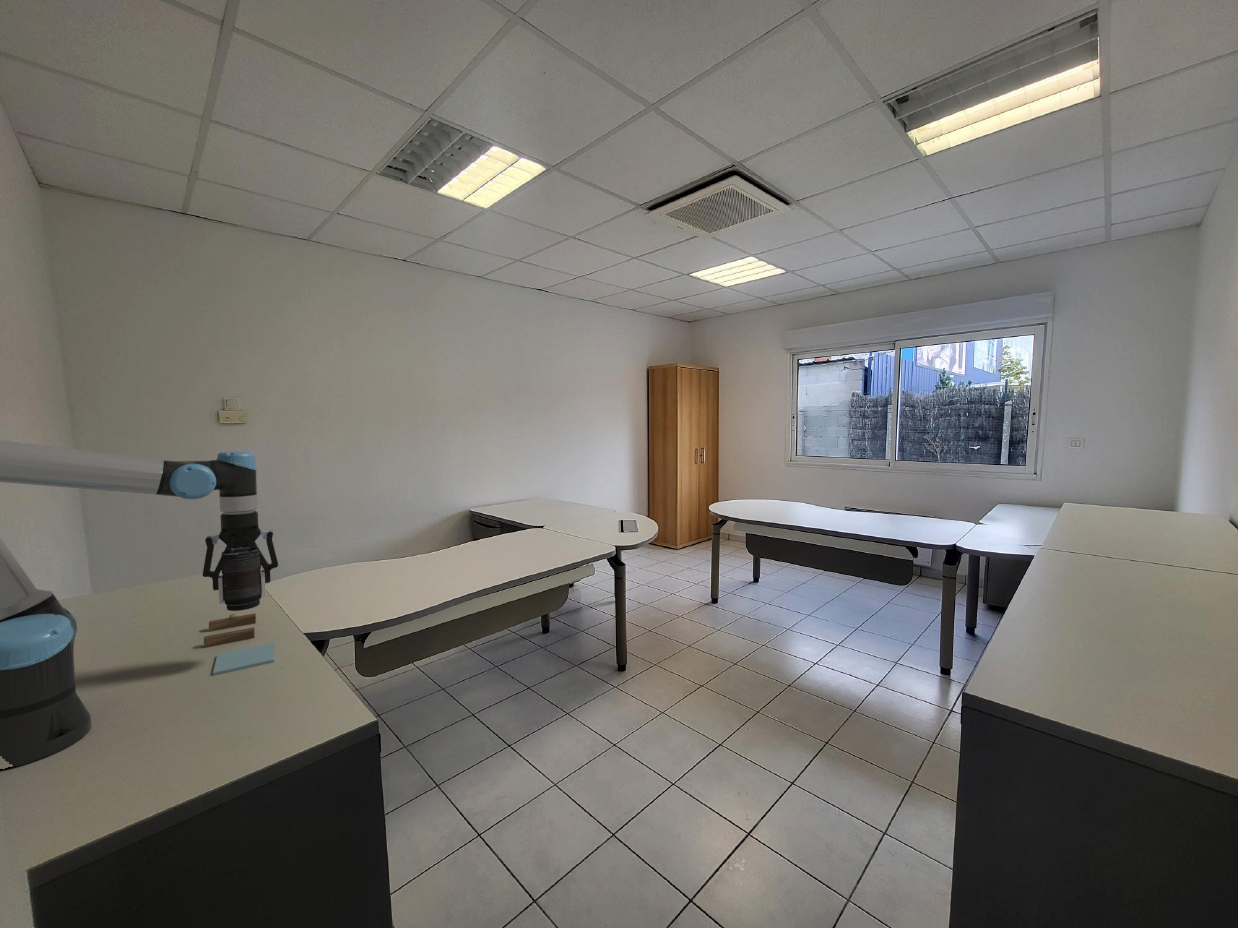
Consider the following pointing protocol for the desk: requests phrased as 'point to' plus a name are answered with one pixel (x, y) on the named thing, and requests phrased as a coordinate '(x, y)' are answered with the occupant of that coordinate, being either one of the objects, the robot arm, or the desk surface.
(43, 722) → the robot arm
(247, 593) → the camera lens
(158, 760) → the desk surface
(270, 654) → the mat
